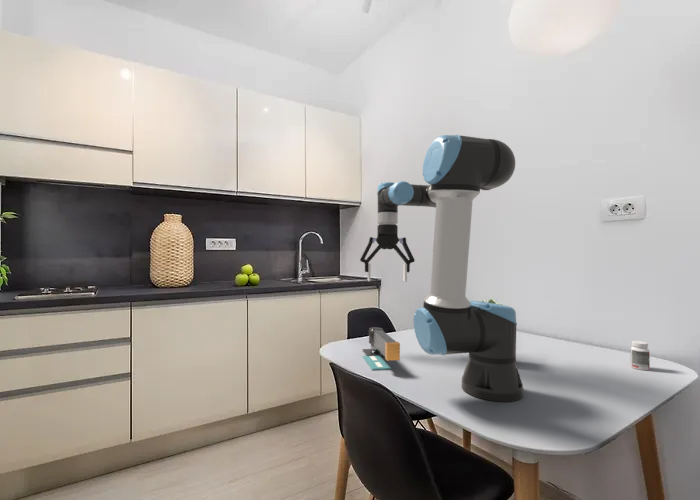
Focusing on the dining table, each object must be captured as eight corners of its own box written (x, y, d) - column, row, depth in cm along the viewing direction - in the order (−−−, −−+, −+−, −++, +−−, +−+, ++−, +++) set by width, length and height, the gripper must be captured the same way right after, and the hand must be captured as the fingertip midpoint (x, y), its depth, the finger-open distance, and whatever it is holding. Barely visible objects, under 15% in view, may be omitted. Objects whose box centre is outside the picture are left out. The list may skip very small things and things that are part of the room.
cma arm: (401, 360, 108) (401, 343, 108) (385, 360, 107) (385, 343, 107) (380, 340, 132) (381, 327, 132) (367, 341, 131) (367, 327, 131)
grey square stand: (389, 356, 125) (389, 345, 126) (367, 357, 124) (367, 346, 124) (383, 350, 133) (383, 340, 133) (362, 351, 132) (362, 340, 132)
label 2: (390, 369, 112) (391, 367, 112) (372, 370, 111) (372, 368, 111) (384, 362, 118) (384, 360, 118) (367, 363, 117) (367, 361, 117)
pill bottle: (653, 371, 113) (653, 344, 113) (635, 370, 114) (636, 343, 114) (644, 366, 118) (644, 340, 118) (627, 365, 119) (627, 340, 119)
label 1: (384, 362, 118) (384, 360, 118) (367, 363, 117) (367, 361, 117) (379, 356, 125) (379, 354, 125) (362, 357, 124) (362, 355, 124)
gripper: (417, 225, 139) (417, 280, 139) (353, 225, 138) (353, 280, 138) (422, 224, 132) (422, 282, 131) (355, 223, 131) (354, 281, 130)
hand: (387, 281), depth 134 cm, fingers open, 13 cm apart
